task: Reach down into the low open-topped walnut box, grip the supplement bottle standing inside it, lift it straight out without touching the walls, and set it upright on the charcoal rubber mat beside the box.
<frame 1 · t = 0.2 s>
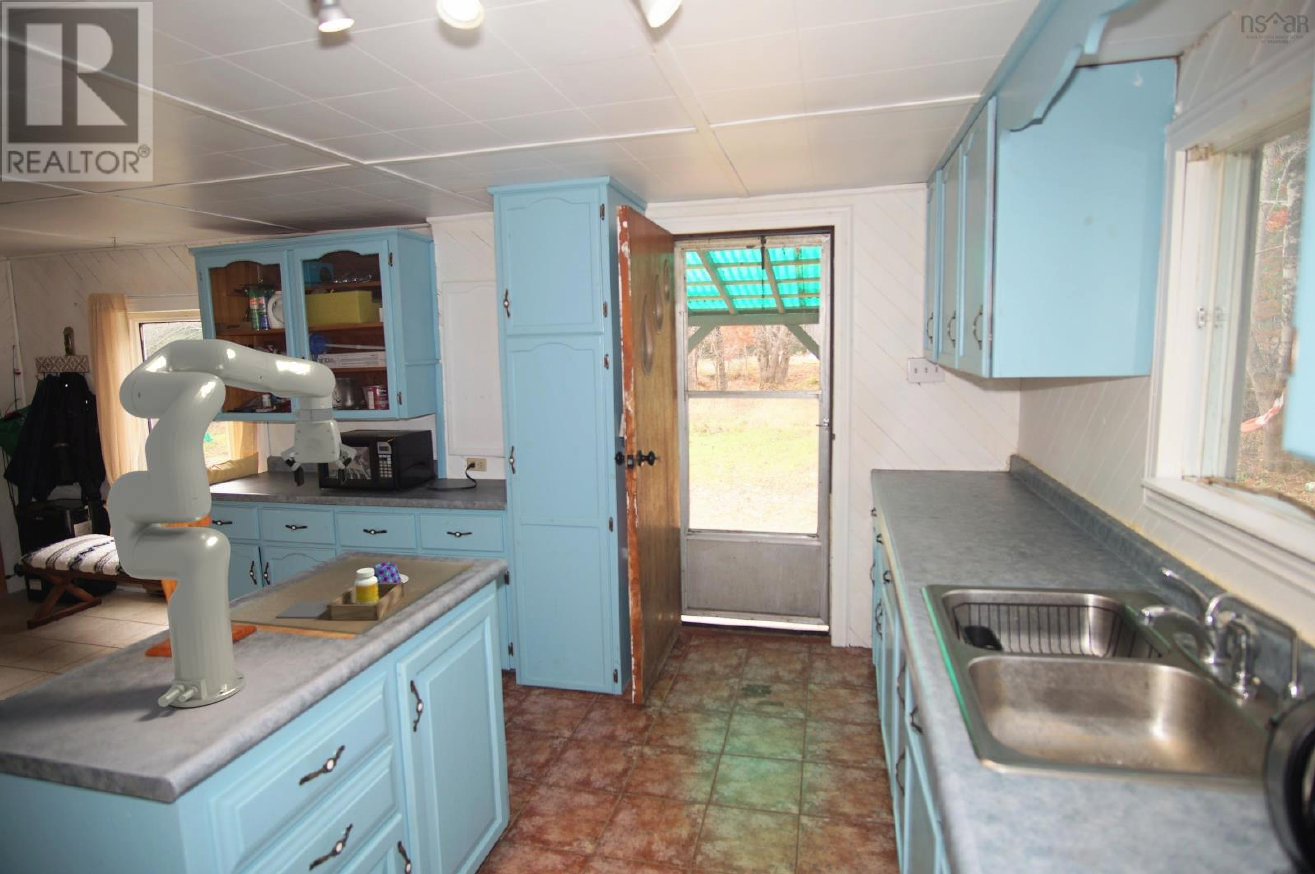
hand: (321, 484, 171), 30 cm above the counter, tool pointing down, fingers open, 9 cm apart
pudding: (385, 584, 190), on the counter
rubber mat: (307, 610, 170), on the counter
walnut box: (367, 607, 172), on the counter
supplement bottle: (367, 608, 172), resting in walnut box
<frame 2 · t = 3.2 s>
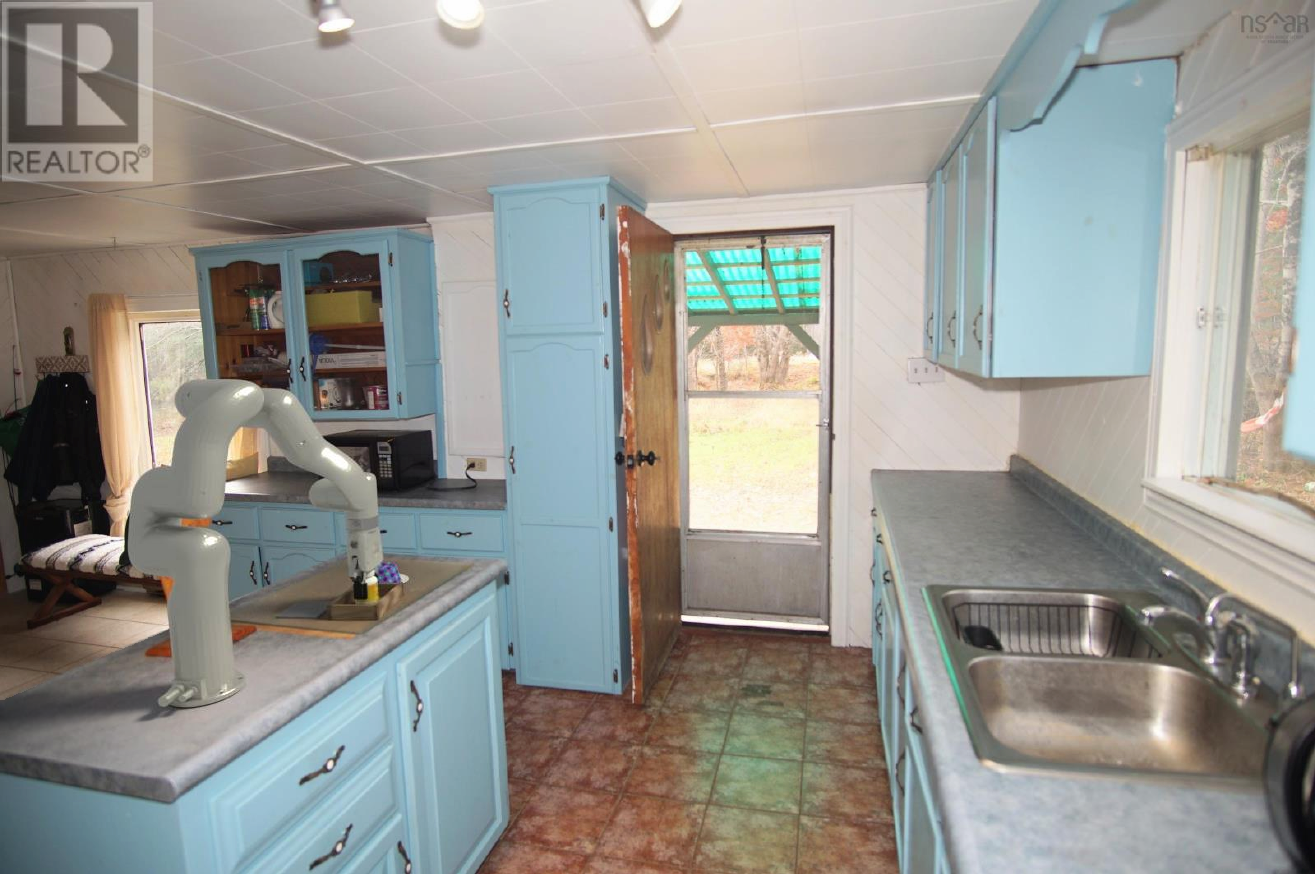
hand: (366, 593, 171), 4 cm above the counter, tool pointing down, fingers closed on supplement bottle, 5 cm apart
supplement bottle: (367, 608, 172), resting in walnut box, touching gripper
everything else where it was.
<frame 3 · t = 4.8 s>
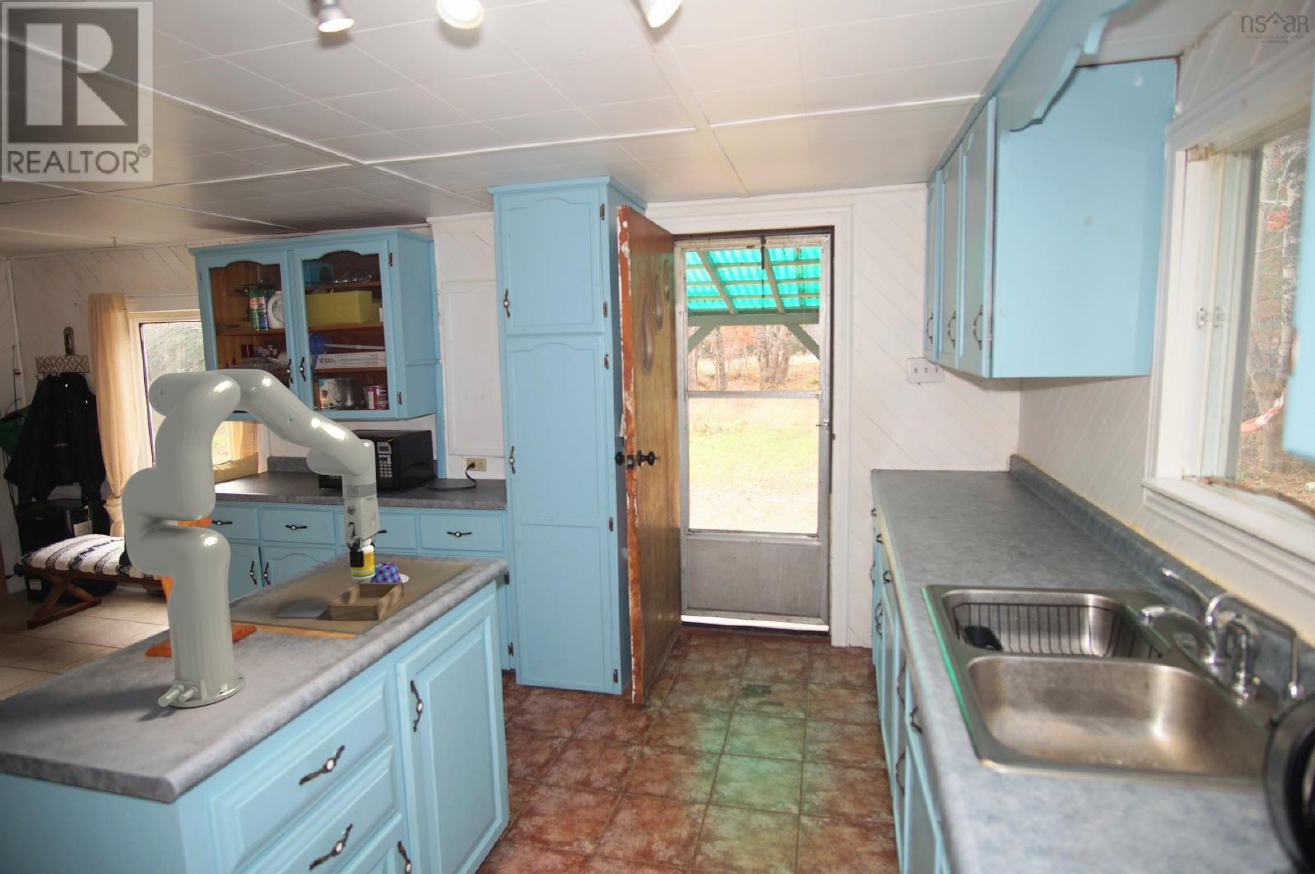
hand: (362, 562, 170), 12 cm above the counter, tool pointing down, fingers closed on supplement bottle, 5 cm apart
supplement bottle: (363, 577, 170), point 8 cm above the counter, touching gripper
everything else where it was.
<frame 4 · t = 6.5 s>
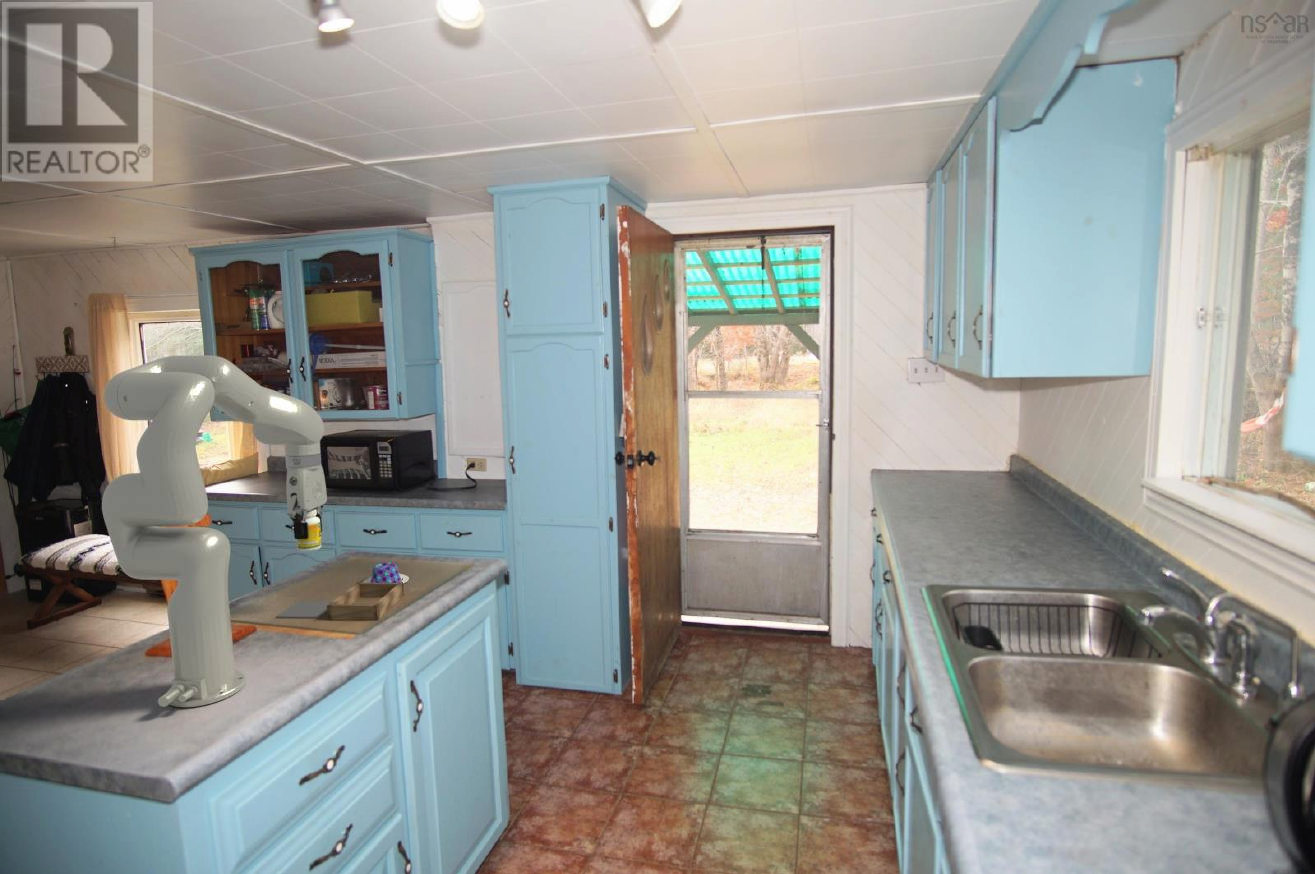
hand: (308, 534, 168), 19 cm above the counter, tool pointing down, fingers closed on supplement bottle, 5 cm apart
supplement bottle: (309, 549, 168), point 15 cm above the counter, touching gripper
everything else where it was.
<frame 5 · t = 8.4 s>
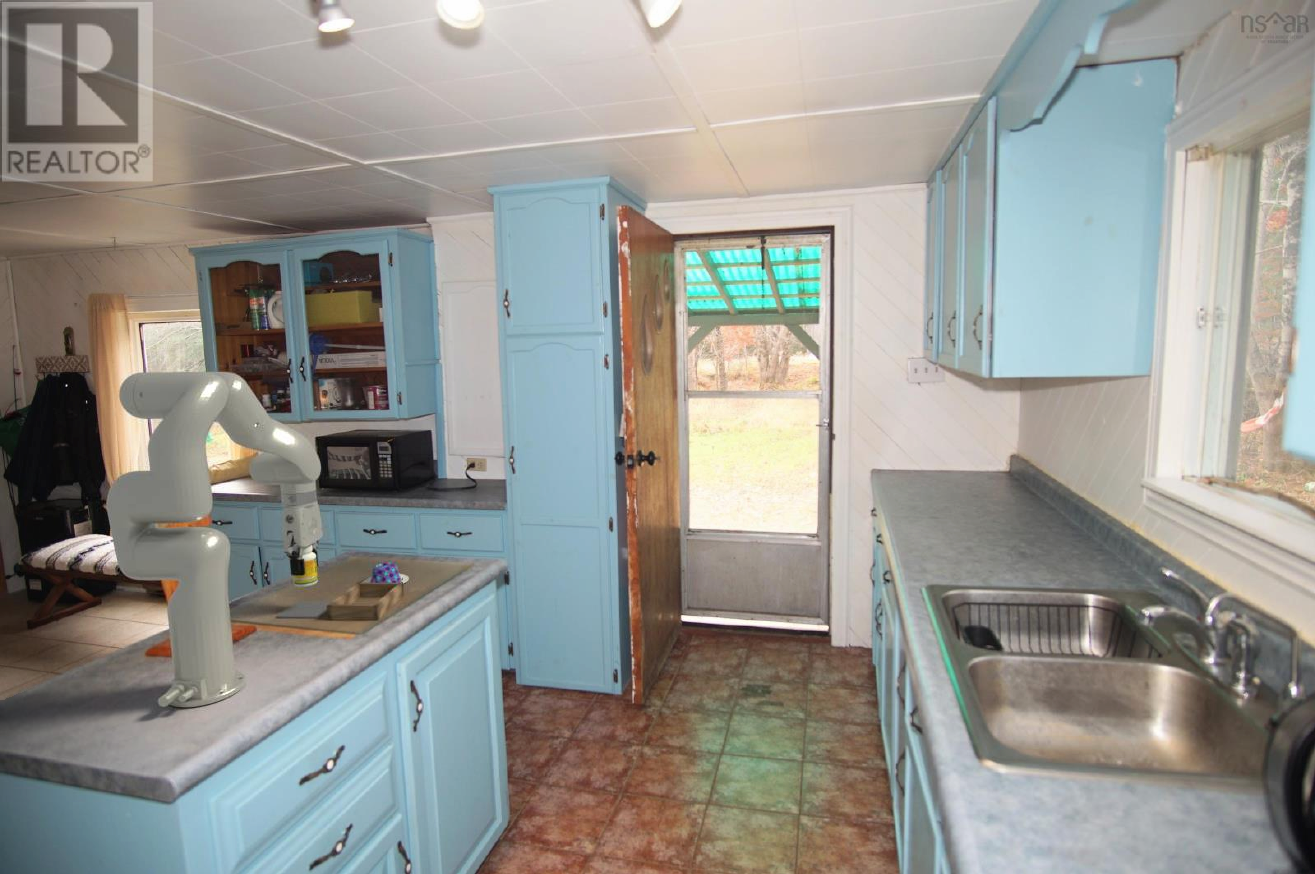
hand: (304, 569, 169), 10 cm above the counter, tool pointing down, fingers closed on supplement bottle, 5 cm apart
supplement bottle: (306, 584, 169), point 6 cm above the counter, touching gripper
everything else where it was.
when the fingers open (5 cm above the counter, at t = 9.9 s): supplement bottle stays where it is, resting on rubber mat.
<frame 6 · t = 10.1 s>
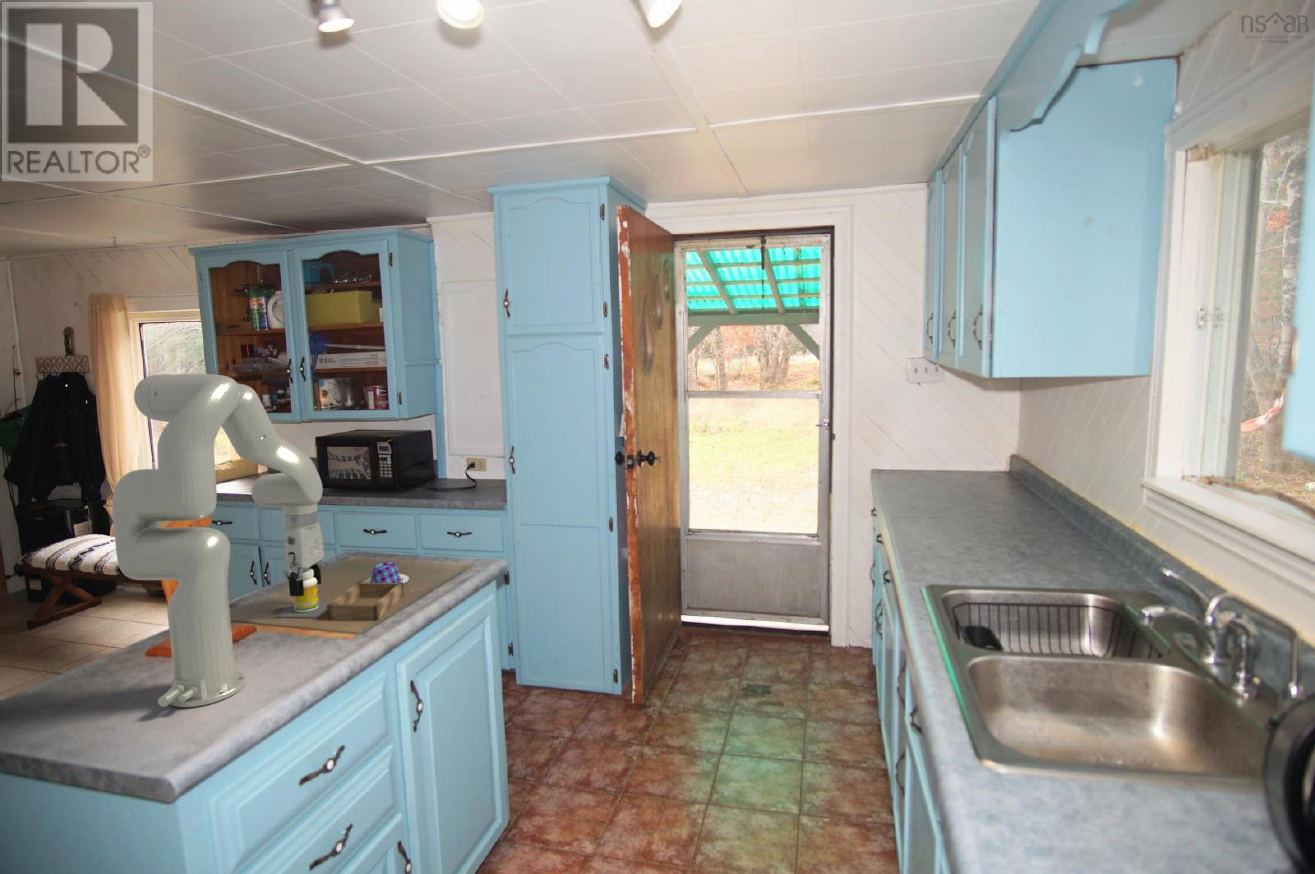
hand: (306, 589, 169), 5 cm above the counter, tool pointing down, fingers open, 7 cm apart
supplement bottle: (307, 609, 170), resting on rubber mat
everything else where it was.
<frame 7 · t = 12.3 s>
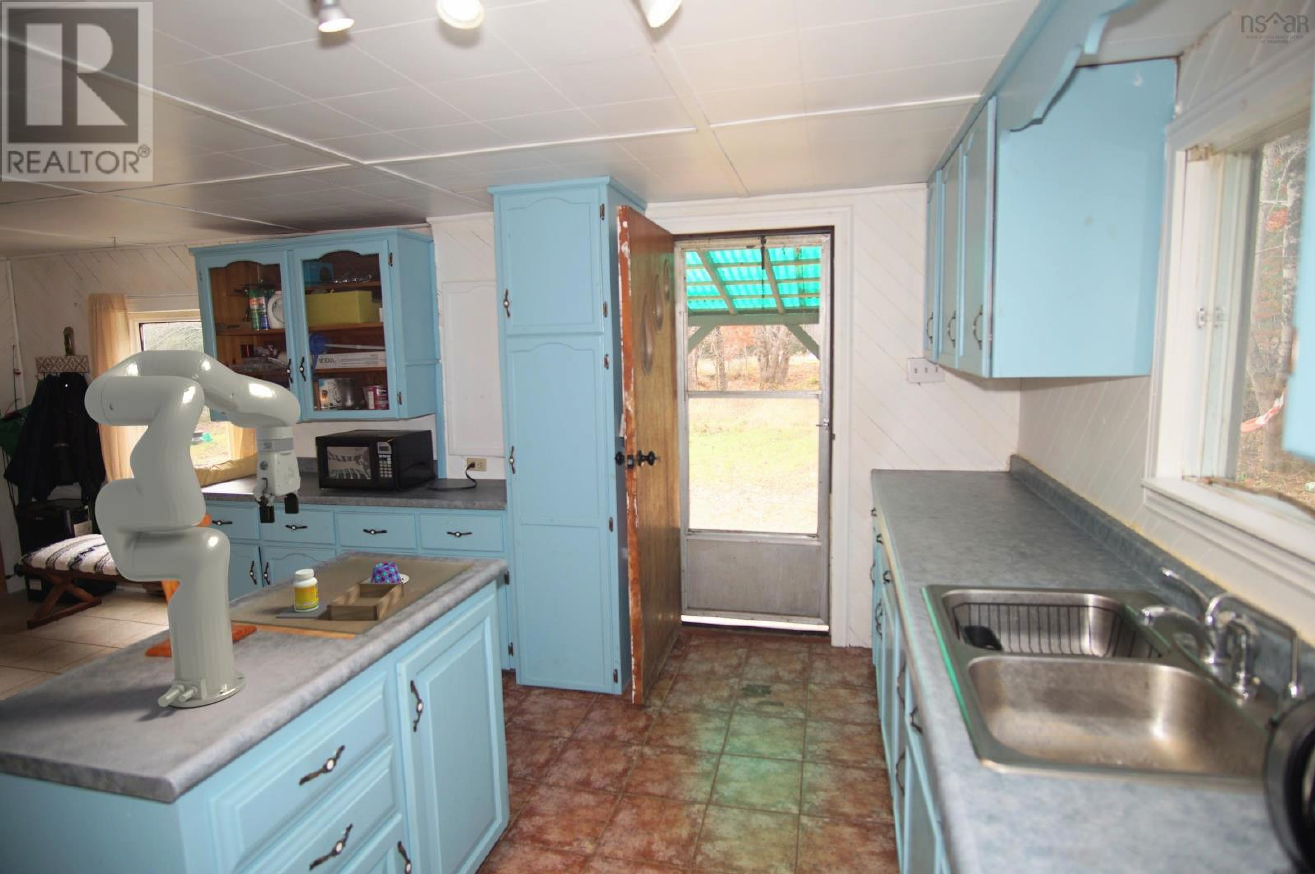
hand: (280, 518, 163), 24 cm above the counter, tool pointing down, fingers open, 9 cm apart
nothing on the counter moved.
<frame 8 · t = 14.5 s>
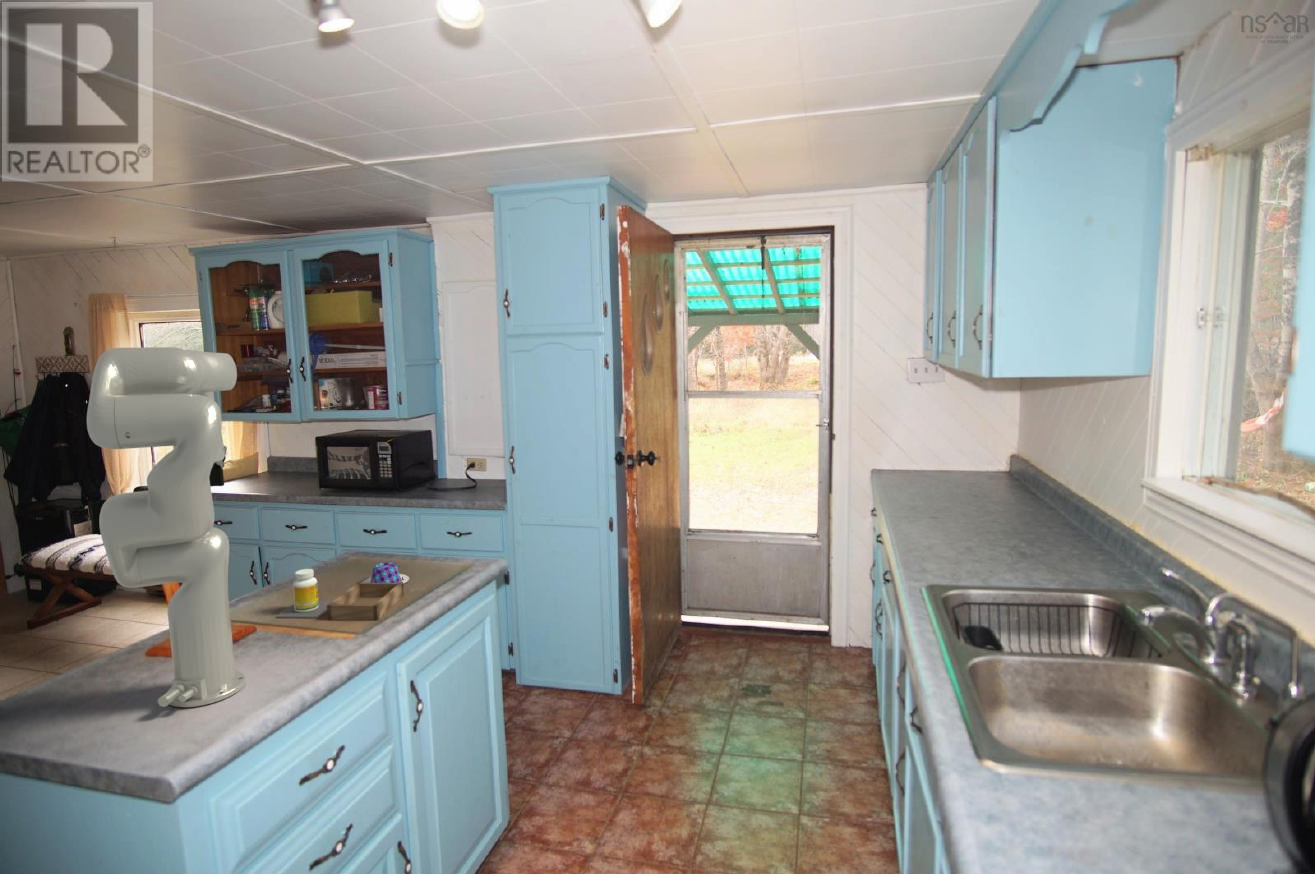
hand: (202, 490, 151), 33 cm above the counter, tool pointing down, fingers open, 9 cm apart
nothing on the counter moved.
at the end: supplement bottle inside the target area on the rubber mat (0.3 cm from its centre), point 0.2 cm above the rubber mat's base; supplement bottle tilted 0°; the gripper is holding nothing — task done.
